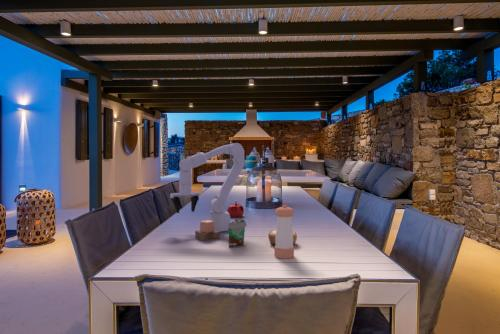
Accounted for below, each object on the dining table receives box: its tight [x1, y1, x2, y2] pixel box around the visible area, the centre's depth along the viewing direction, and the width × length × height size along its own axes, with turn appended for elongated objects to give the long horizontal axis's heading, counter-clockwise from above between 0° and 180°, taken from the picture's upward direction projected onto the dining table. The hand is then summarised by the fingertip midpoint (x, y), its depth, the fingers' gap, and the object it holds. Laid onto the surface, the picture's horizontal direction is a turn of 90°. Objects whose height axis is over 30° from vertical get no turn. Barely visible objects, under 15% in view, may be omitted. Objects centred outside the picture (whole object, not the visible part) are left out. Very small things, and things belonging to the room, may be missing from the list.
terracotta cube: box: [199, 219, 215, 233], centre depth 172 cm, size 4×4×4 cm
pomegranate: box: [226, 200, 245, 218], centre depth 228 cm, size 10×10×9 cm
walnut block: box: [194, 229, 221, 242], centre depth 172 cm, size 8×8×4 cm
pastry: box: [268, 229, 298, 247], centre depth 163 cm, size 12×12×9 cm
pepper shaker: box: [273, 204, 295, 260], centre depth 144 cm, size 7×7×19 cm
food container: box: [228, 217, 247, 248], centre depth 161 cm, size 12×6×10 cm, turn 168°
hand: (185, 212), depth 185 cm, fingers open, 7 cm apart
